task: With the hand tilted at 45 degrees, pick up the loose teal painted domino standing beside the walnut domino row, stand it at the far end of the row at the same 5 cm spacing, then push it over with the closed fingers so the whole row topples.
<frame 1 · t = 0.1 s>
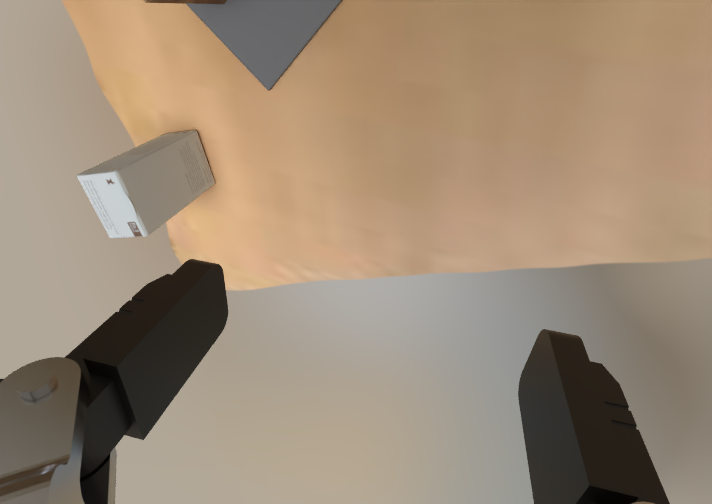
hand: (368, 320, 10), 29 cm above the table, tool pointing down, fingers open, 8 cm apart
skincare box: (193, 159, 43), on the table
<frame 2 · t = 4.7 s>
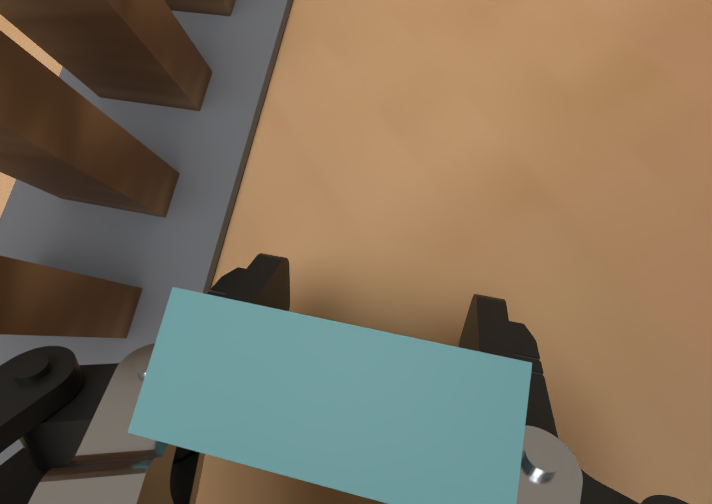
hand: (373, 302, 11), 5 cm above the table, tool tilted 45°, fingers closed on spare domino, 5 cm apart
domino 2: (79, 300, 16), resting on domino mat
domino 3: (120, 186, 17), resting on domino mat
domino mat: (127, 190, 18), on the table
domino 4: (155, 84, 18), resting on domino mat
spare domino: (371, 365, 15), on the table, touching gripper
when the fingers open (6 cm above the table, at t = 12.1 s): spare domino stays where it is, resting on domino mat.
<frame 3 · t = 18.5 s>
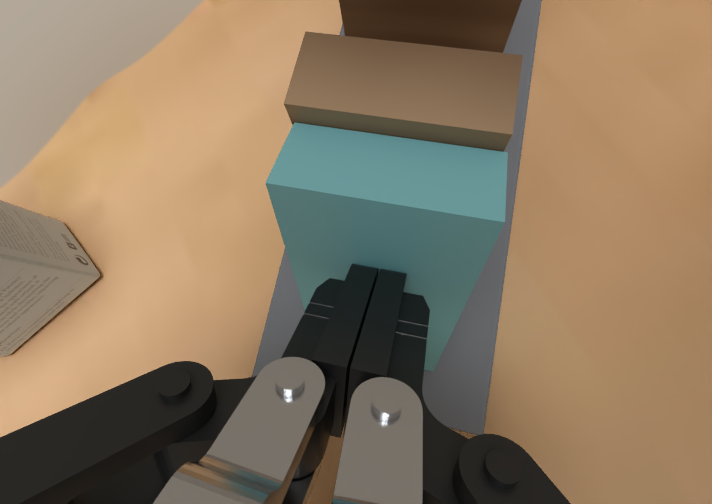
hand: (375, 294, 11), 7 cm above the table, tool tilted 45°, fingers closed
domino 2: (397, 227, 18), point 1 cm above the table, touching domino mat
domino 3: (416, 131, 20), resting on domino mat
domino mat: (416, 136, 20), on the table
skincare box: (41, 291, 20), on the table
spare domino: (377, 335, 17), point 1 cm above the table, tilted 20°, touching domino mat, gripper
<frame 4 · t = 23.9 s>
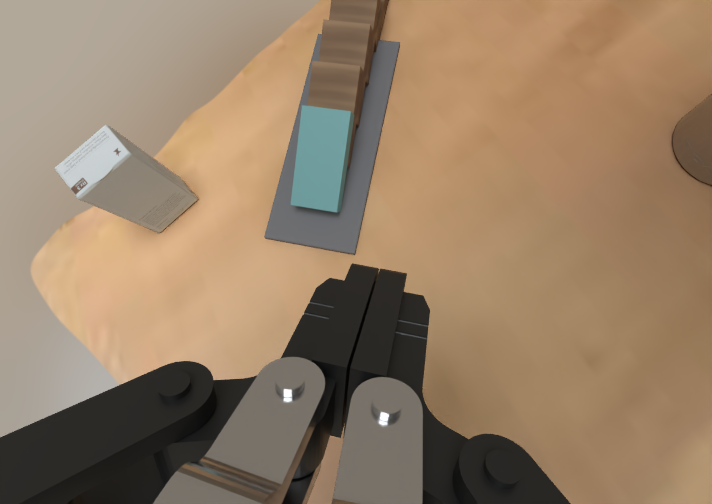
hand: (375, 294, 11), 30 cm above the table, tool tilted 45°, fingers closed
domino 2: (325, 163, 43), point 1 cm above the table, tilted 67°, touching domino 3, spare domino
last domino: (354, 43, 46), point 2 cm above the table, tilted 93°, touching domino 4, domino mat
domino 3: (335, 122, 44), point 1 cm above the table, tilted 67°, touching domino 2, domino 4, domino mat
domino mat: (335, 137, 46), on the table
domino 4: (345, 80, 46), point 1 cm above the table, tilted 65°, touching domino 3, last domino
skincare box: (170, 207, 46), on the table
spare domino: (316, 208, 42), point 1 cm above the table, tilted 67°, touching domino 2, domino mat
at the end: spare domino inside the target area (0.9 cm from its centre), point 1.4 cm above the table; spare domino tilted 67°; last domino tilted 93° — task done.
